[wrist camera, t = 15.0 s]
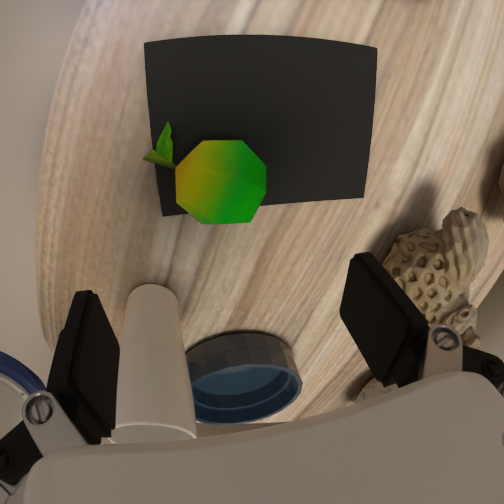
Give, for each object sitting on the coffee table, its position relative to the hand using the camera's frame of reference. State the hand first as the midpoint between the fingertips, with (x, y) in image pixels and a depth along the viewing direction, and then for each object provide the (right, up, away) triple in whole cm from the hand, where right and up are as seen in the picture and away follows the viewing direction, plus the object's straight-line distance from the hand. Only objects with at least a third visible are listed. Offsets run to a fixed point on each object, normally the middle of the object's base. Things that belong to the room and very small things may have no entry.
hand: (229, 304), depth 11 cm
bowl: (-1, -13, +28) cm, 31 cm away
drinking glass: (-9, -3, +19) cm, 21 cm away
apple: (-3, +8, +12) cm, 15 cm away
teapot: (+18, +1, +23) cm, 29 cm away
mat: (+2, +12, +12) cm, 17 cm away
